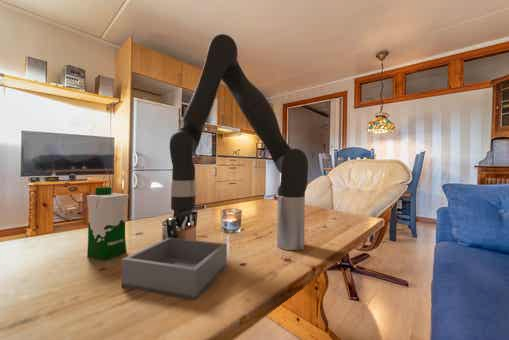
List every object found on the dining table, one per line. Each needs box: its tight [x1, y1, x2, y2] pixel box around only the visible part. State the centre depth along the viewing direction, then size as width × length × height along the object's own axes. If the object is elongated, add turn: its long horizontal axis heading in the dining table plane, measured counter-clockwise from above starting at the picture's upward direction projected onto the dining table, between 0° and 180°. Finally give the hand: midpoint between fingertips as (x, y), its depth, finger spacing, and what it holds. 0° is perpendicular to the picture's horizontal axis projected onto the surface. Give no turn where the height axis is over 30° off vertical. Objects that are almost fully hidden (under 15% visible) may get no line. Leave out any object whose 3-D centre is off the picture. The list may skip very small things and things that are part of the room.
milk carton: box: [86, 186, 130, 262], centre depth 65 cm, size 9×9×20 cm
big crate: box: [120, 237, 228, 301], centre depth 52 cm, size 18×16×6 cm
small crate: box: [171, 225, 197, 241], centre depth 69 cm, size 6×6×7 cm
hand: (182, 246), depth 69 cm, fingers closed on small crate, 6 cm apart
